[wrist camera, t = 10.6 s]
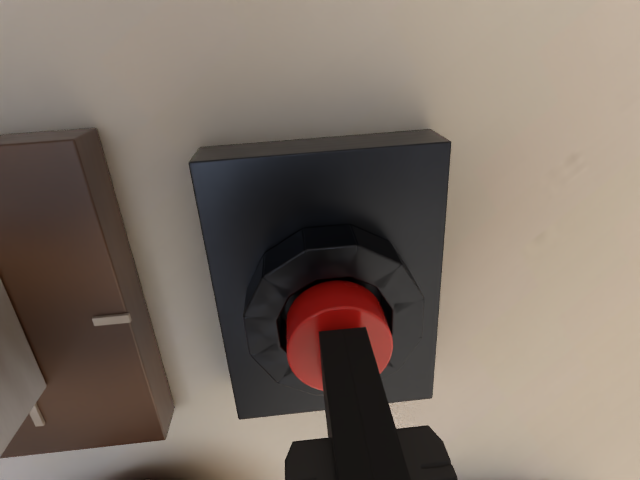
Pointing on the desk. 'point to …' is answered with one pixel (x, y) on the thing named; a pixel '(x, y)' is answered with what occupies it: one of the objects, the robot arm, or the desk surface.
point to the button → (333, 325)
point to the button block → (323, 250)
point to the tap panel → (77, 298)
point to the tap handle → (15, 373)
